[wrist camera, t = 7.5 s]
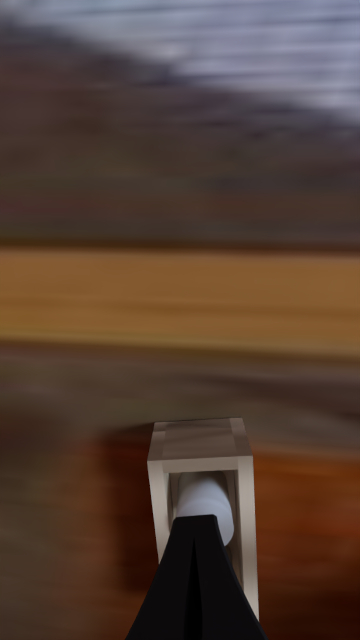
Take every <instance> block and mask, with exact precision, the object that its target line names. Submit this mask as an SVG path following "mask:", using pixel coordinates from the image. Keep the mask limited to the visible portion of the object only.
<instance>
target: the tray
mask: <svg viewBox="0 0 360 640" xmlns="http://www.w3.org/2000/svg"><path fill="white" fill-rule="evenodd" d="M147 465H148V473H149V482H150V490H151V499H152V507H153V516H154V524H155V533H156V541H157V550H158V558H159V564H160V561H161V559H162V556H163V553H164V550H165V547H166V545H167V541H168V538H169V535H170V531H171V528H172V524H173V520H174V519H175V518H176V517H182V516H194V515H207V514H214V515H215V516H217V520H218V525H219V530H220V533H221V537H222V540H223V543H224V546H225V549H226V552H227V554H228V557H229V559H230V562H231V564H232V567H233V569H234V571H235V574H236V576H237V578H238V581H239V583H240V585H241V587H242V589H243V592H244V594H245V596H246V598H247V600H248V602H249V604H250V606H251V608H252V610H253V612H254V614H255V616H256V618H257V620H258V621H259V613H258V586H257V559H256V532H255V505H254V477H253V455H252V452H251V448H250V445H249V441H248V438H247V434H246V431H245V427H244V424H243V420H242V417H241V418H223V419H206V420H188V421H171V422H155V424H154V429H153V434H152V439H151V444H150V449H149V454H148V459H147Z"/></svg>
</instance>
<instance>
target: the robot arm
mask: <svg viewBox="0 0 360 640" xmlns="http://www.w3.org/2000/svg"><path fill="white" fill-rule="evenodd" d="M125 640H268V638H267V636H266V634H265V632H264V631H263V629H262V627H261V625H260V623H259V621H258V620H257V618H256V616H255V614H254V612H253V610H252V608H251V606H250V604H249V602H248V600H247V598H246V596H245V594H244V592H243V589H242V587H241V585H240V583H239V581H238V578H237V576H236V574H235V571H234V569H233V567H232V564H231V562H230V559H229V557H228V554H227V552H226V549H225V546H224V543H223V540H222V537H221V533H220V530H219V525H218V520H217V516H215V515H214V514H207V515H194V516H182V517H176V518H175V519H174V520H173V524H172V528H171V531H170V535H169V538H168V541H167V545H166V547H165V550H164V553H163V556H162V559H161V561H160V564H159V566H158V569H157V572H156V574H155V577H154V579H153V582H152V584H151V586H150V589H149V591H148V593H147V595H146V597H145V600H144V602H143V604H142V606H141V608H140V611H139V613H138V615H137V617H136V619H135V621H134V623H133V625H132V627H131V629H130V631H129V633H128V635H127V637H126V638H125Z"/></svg>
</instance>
